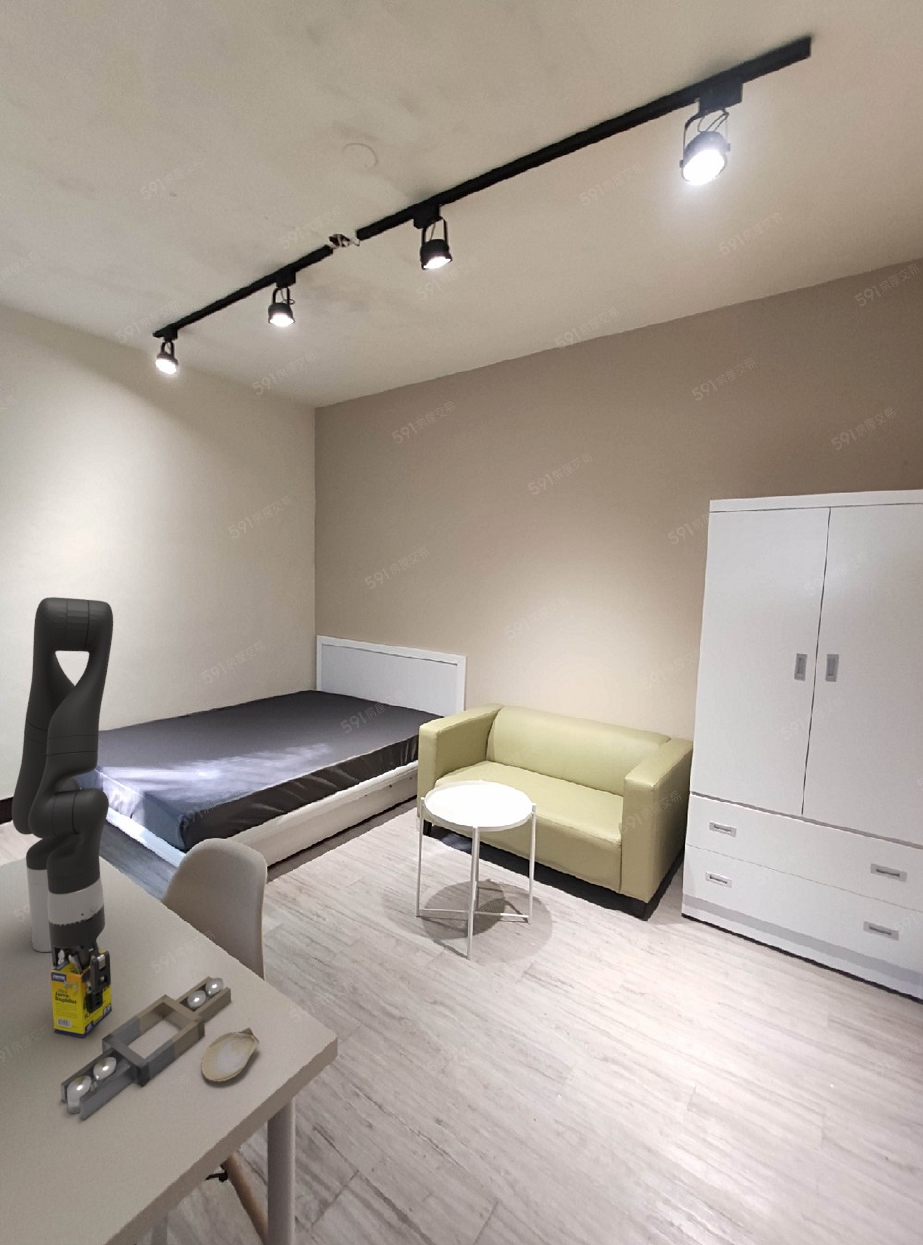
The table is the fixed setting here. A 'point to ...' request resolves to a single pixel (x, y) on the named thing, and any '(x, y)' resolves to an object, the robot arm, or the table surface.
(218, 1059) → the seashell
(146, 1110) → the table surface
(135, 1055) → the frame
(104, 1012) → the supplement box
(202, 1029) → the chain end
